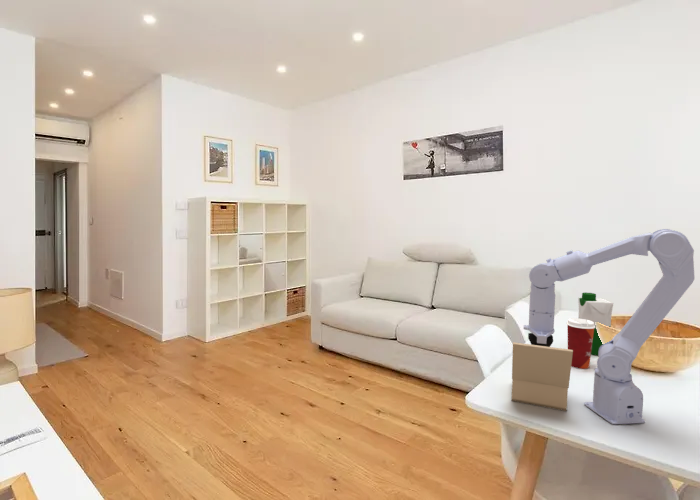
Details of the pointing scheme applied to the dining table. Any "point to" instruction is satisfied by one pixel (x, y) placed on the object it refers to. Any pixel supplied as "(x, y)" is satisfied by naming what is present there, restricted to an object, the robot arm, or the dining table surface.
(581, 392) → the dining table surface
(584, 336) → the paper cup
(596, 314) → the milk carton
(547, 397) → the carton
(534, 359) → the carton lid
